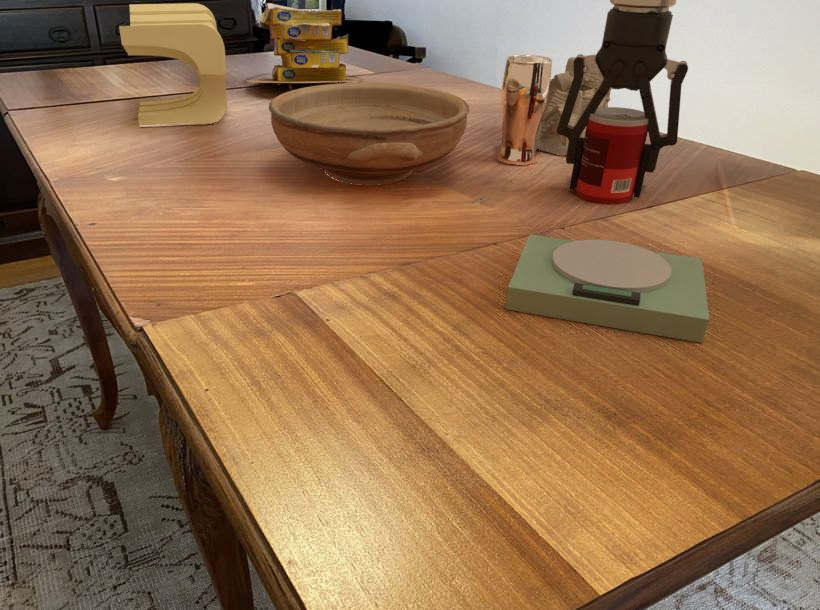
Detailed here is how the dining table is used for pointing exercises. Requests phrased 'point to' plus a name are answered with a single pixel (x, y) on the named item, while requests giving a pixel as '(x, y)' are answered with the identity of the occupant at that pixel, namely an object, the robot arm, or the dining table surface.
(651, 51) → the robot arm
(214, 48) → the yellow c-shaped bracket
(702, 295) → the kitchen scale
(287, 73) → the stacked yellow boxes
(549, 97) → the ceramic cottage
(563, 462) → the dining table surface
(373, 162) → the ceramic bowl
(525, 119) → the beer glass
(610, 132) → the canned food
